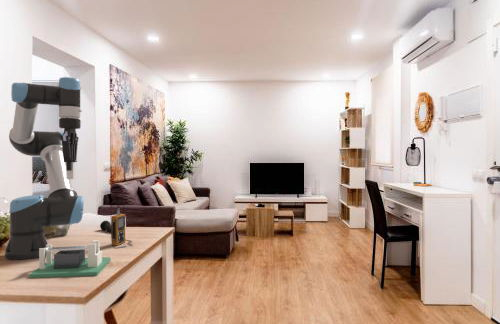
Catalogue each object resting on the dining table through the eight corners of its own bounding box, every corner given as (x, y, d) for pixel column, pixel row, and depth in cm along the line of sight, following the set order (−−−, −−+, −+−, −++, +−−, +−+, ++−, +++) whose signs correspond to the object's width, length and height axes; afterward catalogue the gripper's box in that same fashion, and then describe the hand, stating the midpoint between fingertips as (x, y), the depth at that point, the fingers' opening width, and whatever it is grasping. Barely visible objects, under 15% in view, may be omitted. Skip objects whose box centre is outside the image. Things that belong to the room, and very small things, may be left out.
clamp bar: (40, 255, 129) (40, 248, 129) (45, 252, 133) (45, 246, 133) (92, 252, 131) (92, 246, 131) (95, 249, 135) (95, 243, 135)
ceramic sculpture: (72, 218, 184) (38, 223, 174) (74, 235, 185) (40, 242, 175) (66, 215, 192) (33, 220, 182) (67, 232, 193) (34, 238, 183)
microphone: (120, 240, 189) (106, 230, 203) (124, 230, 190) (109, 220, 203) (111, 238, 186) (97, 228, 200) (114, 228, 186) (100, 218, 200)
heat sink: (53, 269, 128) (53, 254, 127) (62, 262, 136) (62, 249, 135) (78, 268, 129) (78, 254, 129) (85, 261, 137) (85, 248, 136)
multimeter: (128, 249, 160) (128, 202, 159) (106, 248, 161) (106, 201, 161) (144, 241, 174) (143, 198, 174) (124, 240, 176) (123, 197, 175)
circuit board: (29, 277, 122) (29, 250, 122) (51, 262, 140) (51, 238, 140) (97, 275, 125) (97, 248, 124) (110, 260, 142) (110, 236, 142)
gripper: (74, 116, 140) (74, 180, 141) (85, 119, 153) (85, 177, 154) (53, 116, 139) (53, 180, 140) (65, 119, 152) (66, 178, 153)
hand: (70, 178), depth 147 cm, fingers closed
